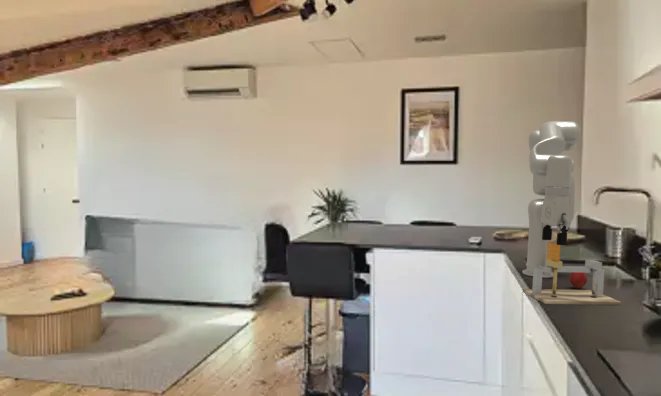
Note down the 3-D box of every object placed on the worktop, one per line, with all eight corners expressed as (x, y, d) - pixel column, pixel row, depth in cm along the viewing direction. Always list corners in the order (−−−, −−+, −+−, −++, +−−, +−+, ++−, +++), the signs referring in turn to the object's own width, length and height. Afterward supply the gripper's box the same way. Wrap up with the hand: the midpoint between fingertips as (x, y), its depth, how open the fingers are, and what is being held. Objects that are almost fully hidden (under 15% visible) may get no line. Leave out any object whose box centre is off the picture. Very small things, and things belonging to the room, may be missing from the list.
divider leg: (544, 290, 180) (547, 241, 179) (552, 291, 181) (556, 241, 180) (551, 294, 176) (555, 243, 174) (560, 294, 176) (563, 243, 175)
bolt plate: (522, 291, 187) (523, 288, 187) (592, 292, 189) (592, 289, 189) (545, 303, 171) (545, 300, 171) (620, 304, 173) (620, 301, 173)
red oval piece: (567, 288, 194) (568, 267, 194) (571, 286, 199) (572, 265, 198) (584, 291, 191) (585, 269, 190) (587, 289, 195) (589, 267, 195)
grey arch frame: (531, 293, 180) (534, 258, 179) (598, 294, 182) (600, 260, 181) (538, 297, 175) (540, 261, 174) (606, 298, 177) (609, 262, 177)
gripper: (534, 190, 185) (531, 238, 187) (560, 194, 168) (556, 246, 170) (554, 190, 186) (551, 238, 187) (582, 194, 169) (578, 247, 170)
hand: (553, 242), depth 178 cm, fingers open, 9 cm apart
